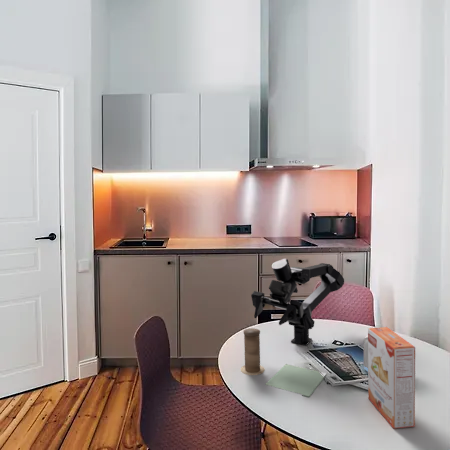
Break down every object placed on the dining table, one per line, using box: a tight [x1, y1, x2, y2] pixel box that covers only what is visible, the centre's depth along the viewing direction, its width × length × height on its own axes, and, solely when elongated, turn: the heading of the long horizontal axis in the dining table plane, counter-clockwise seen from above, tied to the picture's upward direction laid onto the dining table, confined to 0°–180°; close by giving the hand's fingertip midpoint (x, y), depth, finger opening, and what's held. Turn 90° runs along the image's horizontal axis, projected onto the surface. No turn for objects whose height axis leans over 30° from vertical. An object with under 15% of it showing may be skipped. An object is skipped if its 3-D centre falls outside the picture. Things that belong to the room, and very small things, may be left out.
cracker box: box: [367, 326, 416, 430], centre depth 102 cm, size 14×6×21 cm, turn 5°
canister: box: [243, 327, 261, 373], centre depth 128 cm, size 5×5×13 cm
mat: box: [264, 363, 325, 398], centre depth 122 cm, size 16×14×1 cm
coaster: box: [240, 364, 266, 376], centre depth 129 cm, size 8×8×1 cm
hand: (266, 320), depth 132 cm, fingers open, 9 cm apart
